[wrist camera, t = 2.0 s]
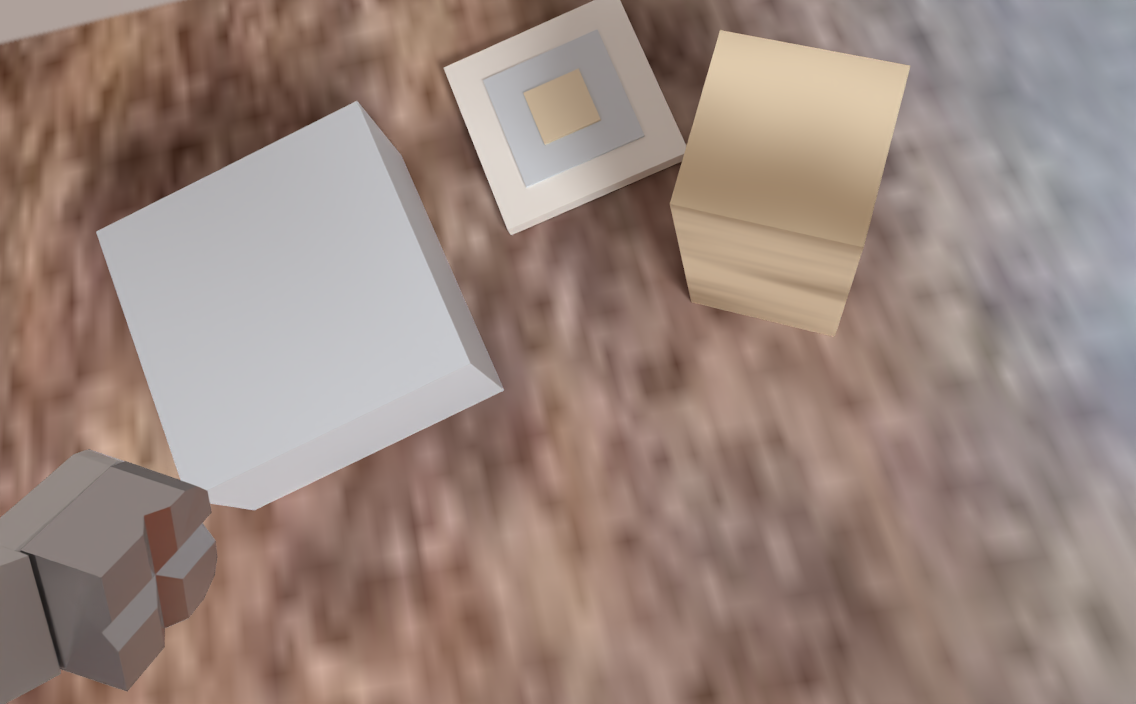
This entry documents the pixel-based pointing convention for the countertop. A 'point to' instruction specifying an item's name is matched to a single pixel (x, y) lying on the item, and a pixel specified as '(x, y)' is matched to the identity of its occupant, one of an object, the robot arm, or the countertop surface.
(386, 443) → the grey-blue block
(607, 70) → the picture tile
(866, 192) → the maple block
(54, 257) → the countertop surface
